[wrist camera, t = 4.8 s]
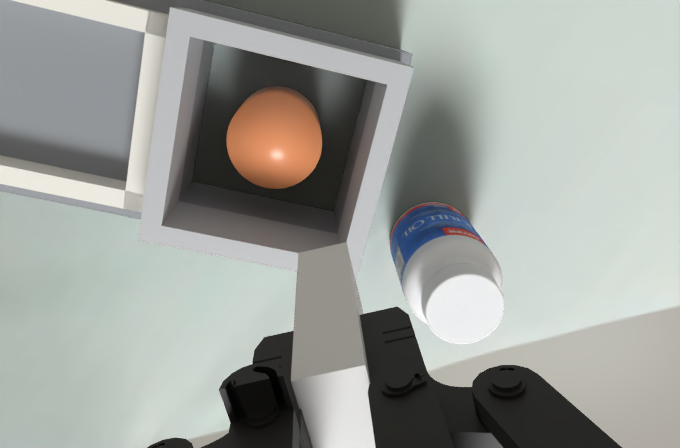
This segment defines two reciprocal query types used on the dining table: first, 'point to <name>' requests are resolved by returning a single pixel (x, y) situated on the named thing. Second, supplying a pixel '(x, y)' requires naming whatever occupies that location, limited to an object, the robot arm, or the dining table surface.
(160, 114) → the grey compartment organizer
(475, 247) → the pill bottle
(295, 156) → the orange rounded object
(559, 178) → the dining table surface
